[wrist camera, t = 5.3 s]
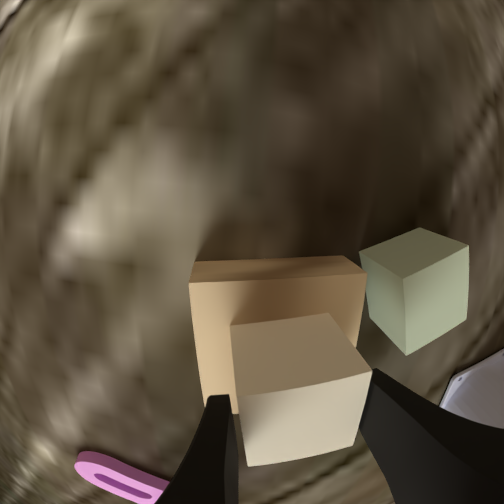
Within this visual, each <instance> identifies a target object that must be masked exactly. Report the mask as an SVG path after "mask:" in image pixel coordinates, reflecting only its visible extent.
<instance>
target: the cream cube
mask: <svg viewBox="0 0 504 504" xmlns="http://www.w3.org/2000/svg"><path fill="white" fill-rule="evenodd" d="M230 337H231V348H232V358H233V369H234V379H235V388H236V397H237V404H238V410H239V416H240V423H241V429H242V435H243V441H244V446H245V452H246V458H247V463H248V467H250V466H258V465H266V464H273V463H279V462H285V461H290V460H296V459H301V458H305V457H310V456H315V455H319V454H323V453H327V452H331V451H335V450H338V449H342V448H345V447H349V446H352V445H353V443H354V440H355V437H356V433H357V430H358V426H359V423H360V419H361V416H362V412H363V408H364V405H365V401H366V397H367V393H368V388H369V384H370V380H371V375H372V370H371V368H370V367H369V366H368V364H367V363H366V362H365V360H364V359H363V358H362V356H361V355H360V354H359V352H358V351H357V350H356V348H355V347H354V346H353V344H352V343H351V342H350V340H349V339H348V338H347V336H346V335H345V334H344V332H343V331H342V330H341V328H340V327H339V326H338V324H337V323H336V322H335V321H334V319H333V318H332V317H331V315H330V314H329V313H323V314H317V315H310V316H303V317H297V318H289V319H282V320H274V321H266V322H258V323H249V324H240V325H231V326H230Z"/></svg>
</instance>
